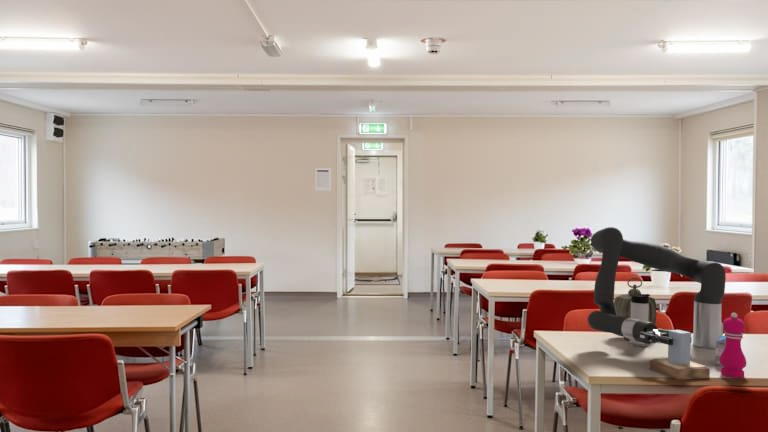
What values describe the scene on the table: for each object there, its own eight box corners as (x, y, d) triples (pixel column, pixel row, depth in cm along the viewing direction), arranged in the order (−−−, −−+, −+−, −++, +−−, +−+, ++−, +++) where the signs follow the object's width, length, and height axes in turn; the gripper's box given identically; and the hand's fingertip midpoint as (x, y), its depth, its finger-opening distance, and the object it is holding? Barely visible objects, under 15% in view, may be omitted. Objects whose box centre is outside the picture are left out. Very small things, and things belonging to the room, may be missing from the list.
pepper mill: (746, 380, 170) (748, 315, 170) (719, 375, 174) (720, 313, 173) (745, 374, 176) (747, 312, 176) (719, 370, 180) (721, 309, 180)
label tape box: (718, 360, 193) (719, 325, 193) (732, 362, 191) (733, 327, 191) (714, 365, 186) (715, 329, 186) (728, 367, 184) (729, 331, 184)
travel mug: (650, 347, 209) (651, 295, 209) (632, 346, 211) (633, 294, 210) (646, 343, 215) (647, 293, 215) (628, 342, 217) (629, 292, 216)
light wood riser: (679, 367, 183) (680, 356, 183) (709, 377, 171) (709, 366, 171) (649, 368, 180) (649, 358, 180) (677, 379, 168) (677, 368, 168)
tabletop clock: (624, 341, 219) (626, 279, 219) (610, 336, 228) (612, 276, 228) (655, 340, 222) (657, 278, 222) (640, 335, 231) (641, 276, 231)
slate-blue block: (677, 360, 178) (678, 329, 178) (690, 363, 174) (690, 332, 174) (667, 361, 177) (668, 330, 176) (680, 365, 172) (681, 333, 172)
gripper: (624, 321, 187) (666, 330, 172) (653, 318, 193) (696, 327, 178) (623, 343, 187) (666, 354, 172) (653, 339, 193) (696, 350, 178)
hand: (681, 341), depth 175 cm, fingers open, 8 cm apart
